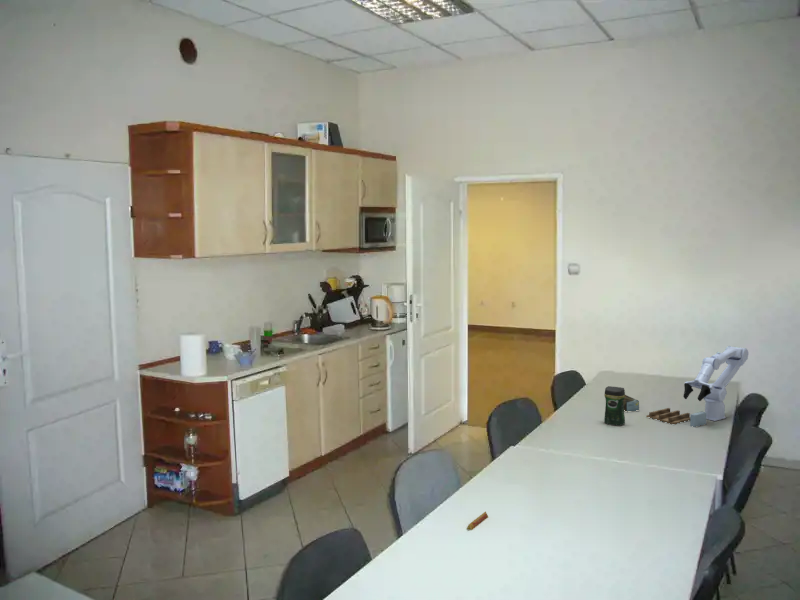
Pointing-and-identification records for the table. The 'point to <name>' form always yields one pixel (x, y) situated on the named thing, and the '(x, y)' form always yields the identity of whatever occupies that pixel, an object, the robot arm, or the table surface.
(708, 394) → the robot arm
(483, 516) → the pencil
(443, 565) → the table surface
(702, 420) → the tile
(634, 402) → the beverage carton
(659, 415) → the rack
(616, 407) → the coffee jar
